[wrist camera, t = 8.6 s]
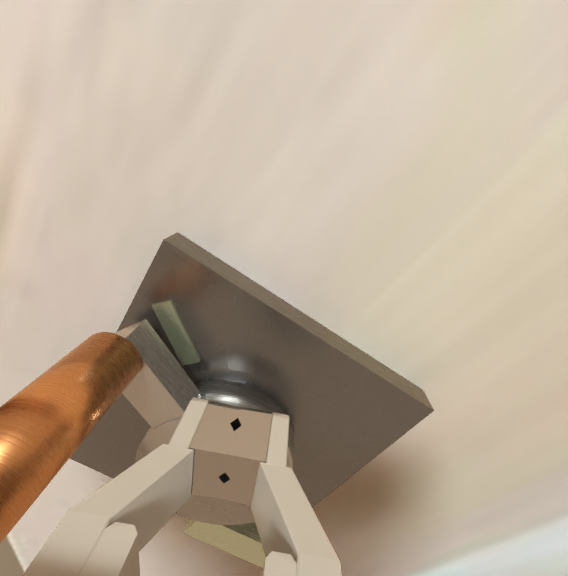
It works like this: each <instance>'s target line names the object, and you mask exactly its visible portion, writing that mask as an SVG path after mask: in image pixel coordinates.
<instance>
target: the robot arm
mask: <svg viewBox="0 0 568 576" xmlns="http://www.w3.org/2000/svg"><path fill="white" fill-rule="evenodd" d="M289 419H290V418H289V415H285V414H279V413H274V412H273V413H272V412H269V411H263V410H258V409H252V408H246V407H239V406H234V405H229V404H225V403H220V402H215V401H211V400H210V401H209V400H205V399H200V398H195V397H193V398H192V400H191V401H190V402H189V404H188V406H187V408H186V410H185V412H184V414H183V416H182V418H181V420H180V422H179V424H178V426H177V428H176V430H175V432H174V434H173V436H172V438H171V440H170V442H169V444H162V445H160V446H159V447H158V448H156V449H155V450H153V451H152V452H150V453H149V454H148V455H146V456H145V457H143V458H142V459H141V460H139V461H138V462H136V463H135V464H133V465H132V466H131V467H129V468H128V469H126V470H125V471H123V472H122V473H121V474H119V475H118V476H116V477H115V478H114V479H112V480H111V481H109V482H108V483H106V484H105V485H104V486H102V487H101V488H99V489H98V490H96V491H95V492H94V493H92V494H91V495H89V496H88V497H87V498H85V499H84V500H82V501H81V502H79V503H78V504H77V505H75V506H74V507H72V508H71V509H69V510H68V512H67V513H66V514H65V516H64V517H63V519H62V520H61V521H60V523H59V524H58V526H57V527H56V529H55V530H54V531H53V533H52V534H51V536H50V537H49V539H48V540H47V541H46V543H45V544H44V546H43V547H42V548H41V550H40V551H39V553H38V554H37V556H36V557H35V558H34V560H33V561H32V563H31V564H30V565H29V567H28V568H27V570H26V571H25V573H24V574H23V575H22V576H140V566H139V551H140V550H141V549H142V548H143V547H144V546H145V545H146V544H147V543H148V542H149V541H150V540H151V539H152V538H153V536H154V535H155V534H156V533H157V532H158V531H159V530H160V529H161V528H162V527H163V526H164V525H165V524H166V523H167V522H168V520H169V519H170V518H171V517H172V516H173V515H174V514H175V513H176V512H177V511H178V510H179V509H180V508H181V507H182V505H183V504H184V503H185V502H186V501H187V500H188V499H189V498H190V497H191V494H193V495H199V496H205V497H212V498H218V499H224V500H228V501H233V502H237V503H242V504H246V505H251V509H252V513H253V516H254V519H255V523H256V526H257V530H258V533H259V536H260V540H261V543H262V547H263V550H264V553H265V557H266V559H265V562H264V566H263V570H262V573H261V576H342V574H341V563H340V560H339V559H338V557H337V555H336V553H335V551H334V549H333V547H332V545H331V543H330V541H329V539H328V537H327V535H326V533H325V532H324V530H323V528H322V526H321V524H320V522H319V520H318V518H317V516H316V514H315V512H314V510H313V508H312V506H311V505H310V503H309V501H308V499H307V497H306V495H305V493H304V491H303V489H302V487H301V485H300V483H299V481H298V479H297V477H296V476H295V474H294V472H293V470H292V468H290V467H286V465H287V450H288V435H289Z"/></svg>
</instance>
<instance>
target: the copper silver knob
mask: <svg viewBox="0 0 568 576" xmlns="http://www.w3.org/2000/svg"><path fill="white" fill-rule="evenodd" d="M121 394H123V395H124V396H125V397H126V398H127V399H128V401H129V402H130V403H131V404H132V405H133V406H134V407H135V409H136V410H137V411H138V412H139V413H140V414H141V416H142V417H143V418H144V419H145V420H146V421H147V422H148V424H149V425H150V426H151V427H150V428H149V430H148V432H147V433H146V435H145V437H144V438H143V440H142V442H141V444H140V445H139V447H138V449H137V452H136V457H135V463H136V462H138V461H139V460H141V459H142V458H143V457H145V456H146V455H148V454H149V453H150V452H152V451H153V450H155V449H156V448H158V447H159V446H160V445H162V444H169V442H170V440H171V438H172V436H173V434H174V432H175V430H176V428H177V426H178V424H179V422H180V420H181V418H182V416H183V414H184V412H185V410H186V408H187V406H188V404H189V402H190V401H191V400H192V398H193V397H195V398H200V399H205V400H209V401H210V400H211V401H215V402H220V403H225V404H229V405H234V406H239V407H246V408H252V409H258V410H263V411H269V412H272V413H273V412H274V413H279V414H285V415H287V414H286V413H285V412H284V410H283V409H282V408H281V407H280V406H279V405H278V404H277V403H276V402H275V401H274V400H272V399H271V398H270V397H268V396H267V395H265V394H264V393H262V392H260V391H258V390H256V389H254V388H251V387H249V386H246V385H243V384H239V383H235V382H229V381H216V380H215V381H203V382H198V383H193V382H192V380H191V379H190V378H189V376H188V375H187V374H186V372H185V371H184V369H183V368H182V367H181V365H180V364H179V363H178V361H177V360H176V359H175V357H174V356H173V355H172V353H171V352H170V351H169V349H168V348H167V347H166V345H165V344H164V342H163V341H162V340H161V338H160V337H159V336H158V334H157V333H156V332H155V330H154V329H153V328H152V326H151V325H150V324H149V322H148V321H147V320H146V319H144V320H142V321H140V322H138V323H135V324H133V325H131V326H129V327H127V328H124V329H122V330H120V331H118V332H116V333H109V332H100V333H96V334H94V335H92V336H90V337H89V338H88V339H87V340H85V341H84V342H83V343H81V344H80V345H79V346H78V347H76V348H75V349H74V350H73V351H71V352H70V353H69V354H67V355H66V356H65V357H64V358H62V359H61V360H60V361H58V362H57V363H56V364H55V365H53V366H52V367H51V368H50V369H48V370H47V371H46V372H44V373H43V374H42V375H41V376H39V377H38V378H37V379H36V380H34V381H33V382H32V383H30V384H29V385H28V386H27V387H25V388H24V389H23V390H21V391H20V392H19V393H18V394H16V395H15V396H14V397H13V398H11V399H10V400H9V401H7V402H6V403H5V404H4V405H2V406H1V407H0V543H1V542H2V541H3V539H4V538H5V537H6V536H7V534H8V533H9V532H10V531H11V530H12V528H13V527H14V526H15V525H16V523H17V522H18V521H19V520H20V518H21V517H22V516H23V515H24V513H25V512H26V511H27V510H28V509H29V507H30V506H31V505H32V504H33V502H34V501H35V500H36V499H37V497H38V496H39V495H40V494H41V492H42V491H43V490H44V489H45V488H46V486H47V485H48V484H49V483H50V481H51V480H52V479H53V478H54V476H55V475H56V474H57V473H58V472H59V470H60V469H61V468H62V467H63V465H64V464H65V463H66V462H67V460H68V459H69V458H70V457H71V455H72V454H73V453H74V452H75V451H76V449H77V448H78V447H79V446H80V444H81V443H82V442H83V441H84V439H85V438H86V437H87V436H88V435H89V433H90V432H91V431H92V430H93V428H94V427H95V426H96V425H97V423H98V422H99V421H100V420H101V418H102V417H103V416H104V415H105V414H106V412H107V411H108V410H109V409H110V407H111V406H112V405H113V404H114V402H115V401H116V400H117V399H118V397H119V396H120V395H121ZM293 454H294V432H293V427H292V424H291V422H290V420H289V435H288V450H287V465H286V467H290V468H292V470H293ZM176 513H177V514H179V515H182V516H184V517H187V518H189V519H192V520H196V521H199V522H204V523H209V524H215V525H241V524H248V523H252V522H255V519H254V516H253V513H252V509H251V505H246V504H242V503H237V502H233V501H228V500H224V499H218V498H212V497H205V496H199V495H193V494H191V497H190V498H189V499H188V500H187V501H186V502H185V503H184V504H183V505H182V507H181V508H180V509H179V510H178V511H177V512H176Z"/></svg>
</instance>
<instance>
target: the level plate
mask: <svg viewBox="0 0 568 576" xmlns="http://www.w3.org/2000/svg"><path fill="white" fill-rule="evenodd" d="M144 319H146V320H147V321H148V322H149V324H150V325H151V326H152V328H153V329H154V330H155V332H156V333H157V334H158V336H159V337H160V338H161V340H162V341H163V342H164V344H165V345H166V347H167V348H168V349H169V351H170V352H171V353H172V355H173V356H174V357H175V359H176V360H177V361H178V363H179V364H180V365H181V367H182V368H183V369H184V371H185V372H186V374H187V375H188V376H189V378H190V379H191V380H192V382H193V383H198V382H203V381H215V380H216V381H229V382H235V383H239V384H243V385H246V386H249V387H251V388H254V389H256V390H258V391H260V392H262V393H264V394H265V395H267V396H268V397H270V398H271V399H272V400H274V401H275V402H276V403H277V404H278V405H279V406H280V407H281V408H282V409H283V410H284V412H285V413H286V414H287V415H289V418H290V419H289V420H290V422H291V424H292V427H293V432H294V454H293V472H294V474H295V476H296V477H297V479H298V481H299V483H300V485H301V487H302V489H303V491H304V493H305V495H306V497H307V499H308V501H309V503H310V505H311V506H312V507H313V506H315V505H316V504H317V503H318V502H320V501H321V500H322V499H323V498H325V497H326V496H327V495H328V494H330V493H331V492H332V491H333V490H335V489H336V488H337V487H338V486H340V485H341V484H342V483H343V482H345V481H346V480H347V479H348V478H350V477H351V476H352V475H354V474H355V473H356V472H357V471H359V470H360V469H361V468H362V467H364V466H365V465H366V464H367V463H369V462H370V461H371V460H372V459H374V458H375V457H376V456H377V455H379V454H380V453H381V452H382V451H384V450H385V449H386V448H387V447H389V446H390V445H391V444H393V443H394V442H395V441H396V440H398V439H399V438H400V437H401V436H403V435H404V434H405V433H406V432H408V431H409V430H410V429H411V428H413V427H414V426H415V425H416V424H418V423H419V422H420V421H421V420H423V419H424V418H425V417H426V416H428V415H429V414H430V413H431V412H433V411H434V410H433V408H432V406H431V404H430V402H429V400H428V398H427V397H426V395H425V393H424V391H423V390H422V389H420V388H419V387H417V386H416V385H414V384H413V383H411V382H410V381H408V380H406V379H405V378H403V377H402V376H400V375H399V374H397V373H396V372H394V371H392V370H391V369H389V368H388V367H386V366H385V365H383V364H382V363H380V362H378V361H377V360H375V359H374V358H372V357H371V356H369V355H368V354H366V353H364V352H363V351H361V350H360V349H358V348H357V347H355V346H354V345H352V344H350V343H349V342H347V341H346V340H344V339H343V338H341V337H340V336H338V335H336V334H335V333H333V332H332V331H330V330H329V329H327V328H326V327H324V326H322V325H321V324H319V323H318V322H316V321H315V320H313V319H312V318H310V317H308V316H307V315H305V314H304V313H302V312H301V311H299V310H298V309H296V308H294V307H293V306H291V305H290V304H288V303H287V302H285V301H284V300H282V299H280V298H279V297H277V296H276V295H274V294H273V293H271V292H270V291H268V290H266V289H265V288H263V287H262V286H260V285H259V284H257V283H256V282H254V281H252V280H251V279H249V278H248V277H246V276H245V275H243V274H242V273H240V272H238V271H237V270H235V269H234V268H232V267H231V266H229V265H228V264H226V263H224V262H223V261H221V260H220V259H218V258H217V257H215V256H214V255H212V254H210V253H209V252H207V251H206V250H204V249H203V248H201V247H200V246H198V245H196V244H195V243H193V242H192V241H190V240H189V239H187V238H186V237H184V236H182V235H181V234H179V233H176V234H174V235H172V236H170V237H168V238H166V239H164V240H163V242H162V244H161V246H160V248H159V250H158V252H157V254H156V256H155V258H154V260H153V262H152V264H151V266H150V268H149V269H148V271H147V273H146V275H145V277H144V279H143V281H142V283H141V285H140V287H139V289H138V291H137V293H136V295H135V297H134V299H133V301H132V303H131V305H130V307H129V309H128V311H127V313H126V315H125V317H124V319H123V321H122V323H121V325H120V327H119V329H118V331H120V330H122V329H124V328H127V327H129V326H131V325H133V324H135V323H138V322H140V321H142V320H144ZM118 331H117V332H118ZM150 427H151V426H150V425H149V424H148V422H147V421H146V420H145V419H144V418H143V417H142V416H141V414H140V413H139V412H138V411H137V410H136V409H135V407H134V406H133V405H132V404H131V403H130V402H129V401H128V399H127V398H126V397H125V396H124V395H123V394H121V395H120V396H119V397H118V399H117V400H116V401H115V402H114V404H113V405H112V406H111V407H110V409H109V410H108V411H107V412H106V414H105V415H104V416H103V417H102V418H101V420H100V421H99V422H98V423H97V425H96V426H95V427H94V428H93V430H92V431H91V432H90V433H89V435H88V436H87V437H86V438H85V439H84V441H83V442H82V443H81V444H80V446H79V447H78V448H77V449H76V451H75V452H74V453H73V454H72V455H71V457H70V459H72V460H74V461H77V462H79V463H81V464H83V465H85V466H88V467H90V468H92V469H94V470H96V471H98V472H101V473H103V474H105V475H107V476H109V477H112V478H115V477H116V476H118V475H119V474H121V473H122V472H123V471H125V470H126V469H128V468H129V467H131V466H132V465H133V464H135V457H136V452H137V449H138V447H139V445H140V444H141V442H142V440H143V438H144V437H145V435H146V433H147V432H148V430H149V428H150ZM184 534H186V535H188V536H191V537H193V538H195V539H197V540H200V541H202V542H204V543H207V544H209V545H211V546H213V547H216V548H218V549H220V550H222V551H225V552H227V553H229V554H231V555H234V556H236V557H238V558H241V559H243V560H245V561H247V562H250V563H252V564H254V565H256V566H259V567H261V568H263V566H264V562H265V559H266V557H265V553H264V550H263V547H262V543H261V540H260V536H259V533H258V530H257V526H256V523H255V522H252V523H248V524H241V525H215V524H209V523H204V522H199V521H196V520H192V519H188V522H187V525H186V528H185V531H184Z"/></svg>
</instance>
